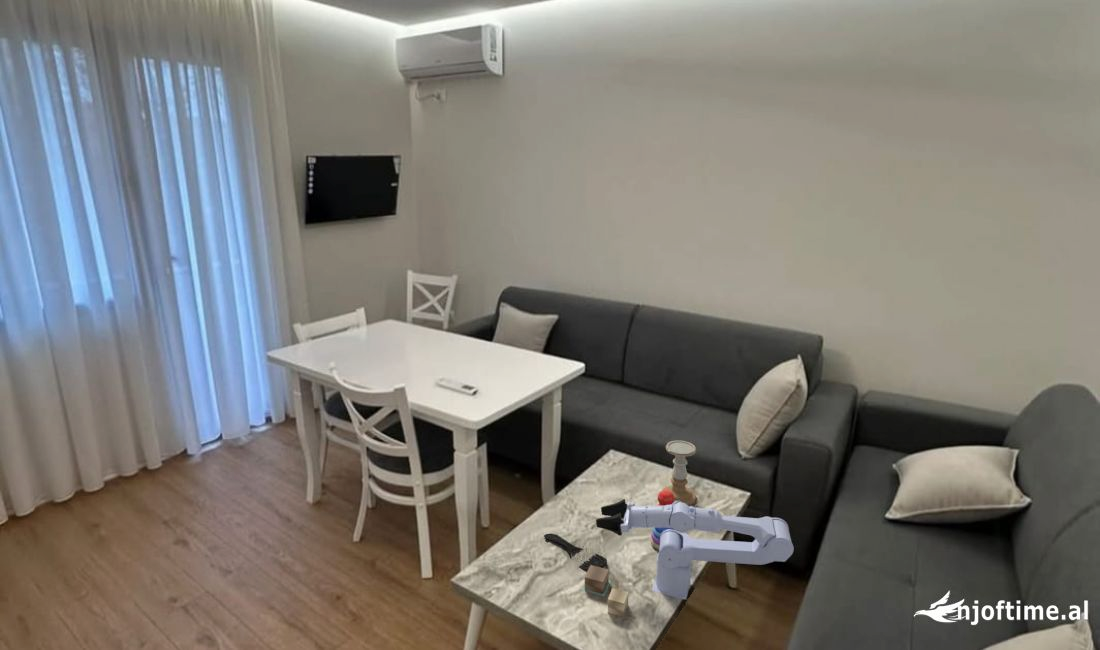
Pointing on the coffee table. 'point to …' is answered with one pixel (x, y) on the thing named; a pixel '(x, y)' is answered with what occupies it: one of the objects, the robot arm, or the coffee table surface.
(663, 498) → the stacking toy
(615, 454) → the coffee table surface
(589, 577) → the walnut block
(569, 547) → the hairbrush
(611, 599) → the birch block
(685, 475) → the candle holder
